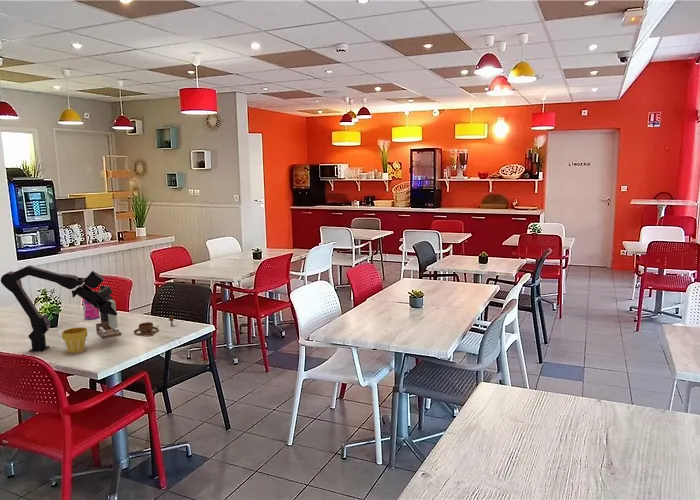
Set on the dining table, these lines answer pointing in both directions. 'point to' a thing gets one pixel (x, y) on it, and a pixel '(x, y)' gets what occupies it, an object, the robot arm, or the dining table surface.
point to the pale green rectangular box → (112, 316)
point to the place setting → (149, 328)
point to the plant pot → (75, 339)
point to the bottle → (103, 315)
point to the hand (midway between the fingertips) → (115, 313)
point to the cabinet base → (106, 330)
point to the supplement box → (90, 311)
